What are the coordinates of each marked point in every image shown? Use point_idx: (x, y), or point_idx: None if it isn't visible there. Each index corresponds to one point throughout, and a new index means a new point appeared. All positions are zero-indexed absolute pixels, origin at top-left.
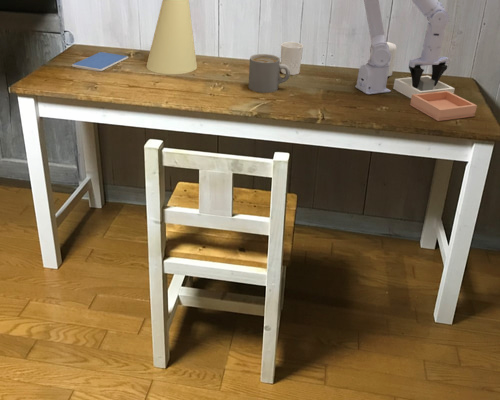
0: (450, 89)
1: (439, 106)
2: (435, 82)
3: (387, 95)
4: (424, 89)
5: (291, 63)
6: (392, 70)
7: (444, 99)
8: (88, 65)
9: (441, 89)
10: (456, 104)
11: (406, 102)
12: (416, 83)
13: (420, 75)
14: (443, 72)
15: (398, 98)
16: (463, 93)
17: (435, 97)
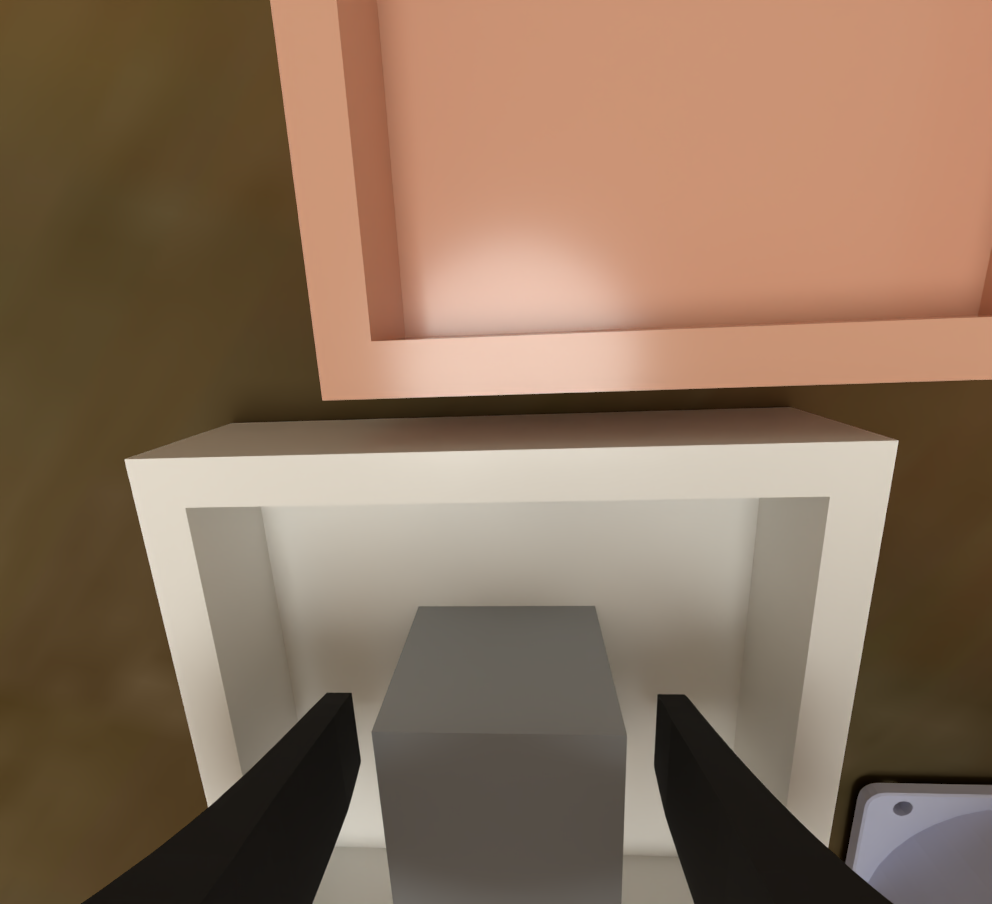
0: (219, 454)
1: (712, 51)
2: (330, 733)
3: (974, 711)
4: (566, 638)
5: None
6: None
7: (421, 329)
8: None
9: (395, 473)
10: (379, 40)
11: (939, 456)
12: (728, 755)
13: (800, 902)
14: (94, 895)
15: (924, 600)
16: (3, 539)
17: (601, 330)
